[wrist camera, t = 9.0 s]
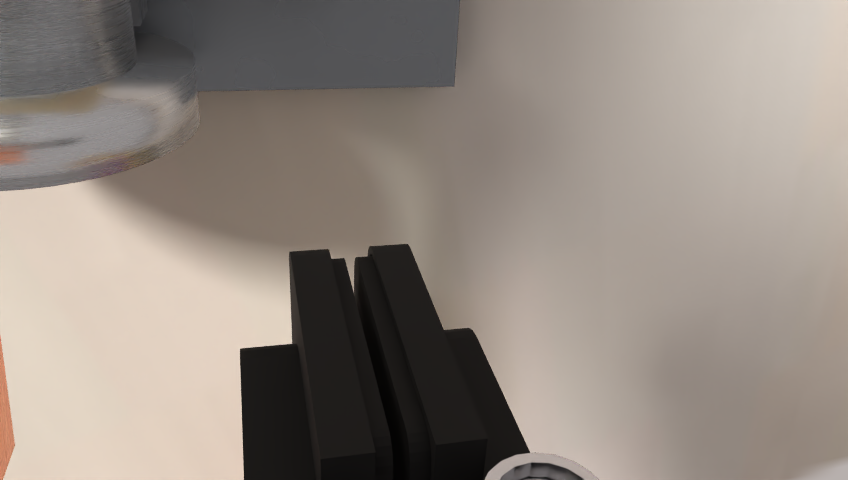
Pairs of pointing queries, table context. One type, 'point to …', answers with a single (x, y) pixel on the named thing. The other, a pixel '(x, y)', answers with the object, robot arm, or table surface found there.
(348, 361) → the robot arm
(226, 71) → the valve body
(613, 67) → the table surface
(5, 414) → the valve lever
